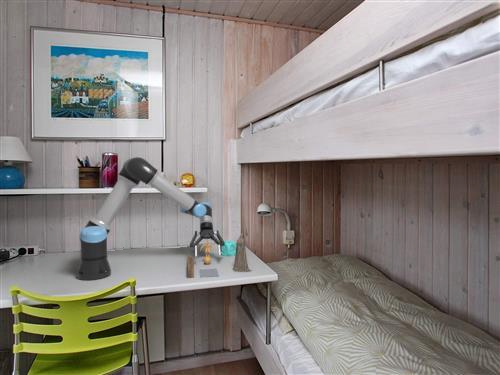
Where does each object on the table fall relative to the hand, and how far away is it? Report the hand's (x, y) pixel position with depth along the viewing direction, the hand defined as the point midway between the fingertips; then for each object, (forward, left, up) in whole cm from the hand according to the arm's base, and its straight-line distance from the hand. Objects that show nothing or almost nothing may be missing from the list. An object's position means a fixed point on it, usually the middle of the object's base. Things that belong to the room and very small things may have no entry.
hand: (208, 256), depth 181 cm
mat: (-1, -15, -4) cm, 16 cm away
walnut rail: (-10, -7, -4) cm, 13 cm away
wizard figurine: (+17, -12, -5) cm, 22 cm away
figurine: (0, +3, -5) cm, 5 cm away
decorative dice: (+14, +21, -5) cm, 25 cm away
